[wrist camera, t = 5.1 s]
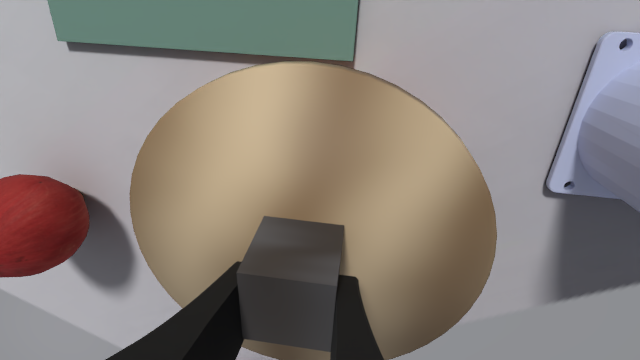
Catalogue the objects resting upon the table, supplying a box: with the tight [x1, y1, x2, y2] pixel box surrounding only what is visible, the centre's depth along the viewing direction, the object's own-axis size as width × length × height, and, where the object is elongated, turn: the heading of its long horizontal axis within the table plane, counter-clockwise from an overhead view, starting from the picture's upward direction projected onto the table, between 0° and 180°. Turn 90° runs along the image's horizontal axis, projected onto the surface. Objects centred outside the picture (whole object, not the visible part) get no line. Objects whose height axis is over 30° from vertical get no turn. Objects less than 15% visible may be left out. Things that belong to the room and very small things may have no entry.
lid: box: [130, 61, 497, 360], centre depth 13 cm, size 14×14×4 cm
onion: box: [0, 174, 89, 277], centre depth 20 cm, size 6×6×8 cm
